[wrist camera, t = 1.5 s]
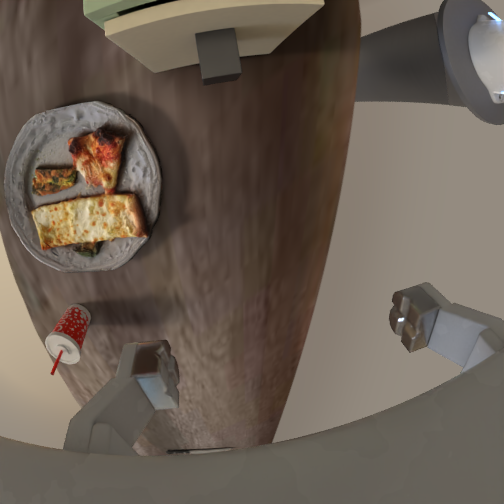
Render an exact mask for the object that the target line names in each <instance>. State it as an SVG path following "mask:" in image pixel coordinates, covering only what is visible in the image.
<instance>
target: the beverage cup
mask: <svg viewBox="0 0 504 504" xmlns="http://www.w3.org/2000/svg"><path fill="white" fill-rule="evenodd" d="M90 320H91V316H90V313H89V311H88V310H87V309H86V308H85V307H83V306H81V305H79V304H72V305H70V306H69V307H68V309H67V310H66V312H65V313H64V315H63V316H62V318H61V319H60V321H59V322H58V324H57V325H56V327H55V328H54V330H53V331H52V332H51V333H50V334H49V335H48V337H47V338H46V342H45V344H46V347H47V350H48V351H49V352H50V354H51V355H52V356H53V357H55V358H56V362H55V364H54V366H53V369H52V372H51V375H54V372H55V370H56V367H57V365H58V363H59V361H61V362H63V363H67V364H75V363H77V362H78V361H79V359H80V356H81V348H82V344H83V341H84V338H85V335H86V332H87V329H88V326H89V323H90Z"/></svg>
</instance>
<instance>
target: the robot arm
mask: <svg viewBox="0 0 504 504" xmlns="http://www.w3.org/2000/svg"><path fill="white" fill-rule="evenodd" d="M488 14H489V15H490V16H492V17H493V18H494V19H496V20H490V19H489V18H487V17H486V16H485V15H478V18H477V22H476V23H475V24H474V25H473V26H472V27H471V28H470V31H469V36H468V44H469V51H470V55H471V59H472V62H473V65H474V68H475V70H476V72H477V74H478V76H479V78H480V79H481V81H482V82H483V84H484V85H485V86H486V88H487V89H488V91H489V93H490V96H491V98H492V100H493V102H494V103H498V104H499V103H504V20H500V19H499V18H498V17H497V16H495V15H494V14H493V13H491V12H490V13H488ZM392 302H393V304H394V306H393V308H392V309H391V310H390V315H389V320H390V325H391V328H392V330H393V331H394V333H395V334H397V335H399V336H402V338H401V342H402V343H403V345H404V346H405V347H406V348H407V350H408V351H409V353H411V352H413V351H416V350H418V349H421V348H424V347H428V348H429V349H431V350H433V351H435V352H436V353H438V354H440V355H442V356H444V357H446V358H447V359H449V360H451V361H453V362H454V363H456V364H458V365H460V366H462V367H463V369H462V371H461V373H460V375H458V376H456V377H454V378H453V379H451V380H449V381H447V382H445V383H443V384H441V385H439V386H437V387H435V388H433V389H431V390H429V391H427V392H425V393H423V394H421V395H419V396H417V397H414V398H412V399H410V400H408V401H405V402H403V403H401V404H398V405H396V406H394V407H391V408H389V409H386V410H384V411H381V412H378V413H376V414H373V415H370V416H368V417H365V418H362V419H359V420H357V421H353V422H351V423H348V424H344V425H341V426H339V427H335V428H332V429H328V430H325V431H321V432H318V433H314V434H310V435H306V436H302V437H298V438H294V439H290V440H285V441H281V442H276V443H271V444H266V445H261V446H255V447H249V448H243V449H236V450H228V451H220V452H211V453H201V454H188V455H168V456H140V455H138V454H137V453H136V452H135V451H134V450H133V449H132V446H133V445H134V443H135V442H136V440H137V439H138V437H139V436H140V434H141V433H142V431H143V430H144V428H145V427H146V425H147V424H148V422H149V421H150V419H151V418H152V416H153V415H154V413H155V412H156V411H155V410H162V409H172V408H179V391H178V389H177V387H176V386H177V385H178V383H179V369H178V365H177V361H176V359H175V357H174V356H172V355H171V354H170V352H171V347H170V345H169V343H168V341H167V340H158V341H148V342H139V343H128V344H125V345H124V346H123V350H122V354H121V357H120V361H119V365H118V369H117V374H116V378H112V379H111V380H110V381H109V382H108V383H107V384H106V385H105V386H104V387H103V388H102V389H101V390H100V391H99V392H98V393H97V394H96V395H95V396H94V397H93V398H92V399H91V400H90V401H89V402H88V403H87V404H86V405H85V406H84V407H83V408H82V409H81V410H80V411H79V412H78V413H77V414H76V415H75V416H74V417H73V418H72V419H71V420H70V423H69V427H68V431H67V434H66V439H65V443H64V447H63V450H62V449H55V448H49V447H44V446H39V445H34V444H29V443H24V442H21V441H16V440H13V439H8V438H5V437H1V436H0V504H504V321H503V320H502V319H501V318H498V317H495V316H492V315H489V314H486V313H483V312H480V311H477V310H474V309H471V308H468V307H465V306H462V305H459V304H456V303H453V304H451V303H450V302H449V301H448V300H447V299H446V298H445V297H444V296H443V295H442V294H441V293H440V292H439V291H438V290H436V289H435V288H434V287H433V286H432V285H431V284H430V283H427V282H425V283H422V284H419V285H416V286H413V287H410V288H407V289H404V290H400V291H397V292H395V293H394V295H393V298H392Z"/></svg>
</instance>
